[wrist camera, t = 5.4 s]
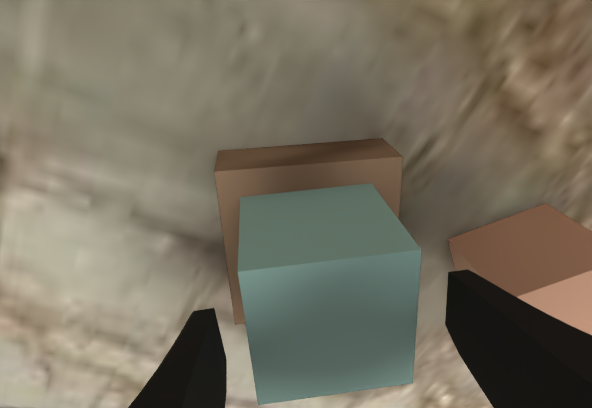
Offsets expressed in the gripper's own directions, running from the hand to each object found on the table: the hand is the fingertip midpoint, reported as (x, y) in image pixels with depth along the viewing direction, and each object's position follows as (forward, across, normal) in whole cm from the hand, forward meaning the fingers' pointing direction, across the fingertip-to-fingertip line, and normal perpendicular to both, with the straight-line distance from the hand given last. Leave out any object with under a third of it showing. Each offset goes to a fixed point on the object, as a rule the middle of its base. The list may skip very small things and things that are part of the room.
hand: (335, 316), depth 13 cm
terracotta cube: (+7, -10, +4) cm, 13 cm away
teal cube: (+4, 0, 0) cm, 4 cm away
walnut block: (+7, 0, 0) cm, 7 cm away
